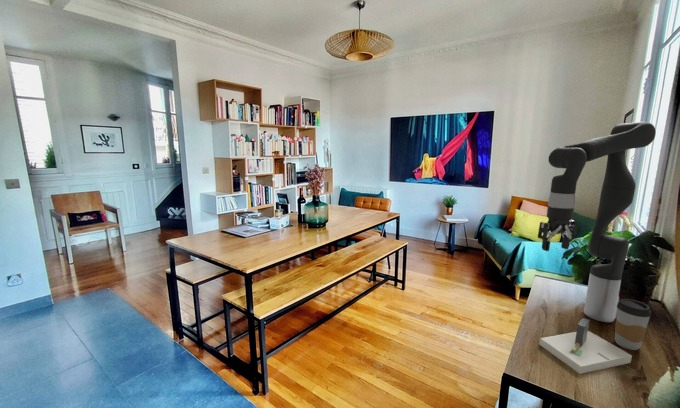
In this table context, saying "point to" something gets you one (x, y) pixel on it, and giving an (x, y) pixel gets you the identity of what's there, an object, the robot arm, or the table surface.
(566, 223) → the robot arm
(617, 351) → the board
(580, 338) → the dark gray beam
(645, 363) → the table surface
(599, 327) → the table surface
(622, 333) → the coffee cup
